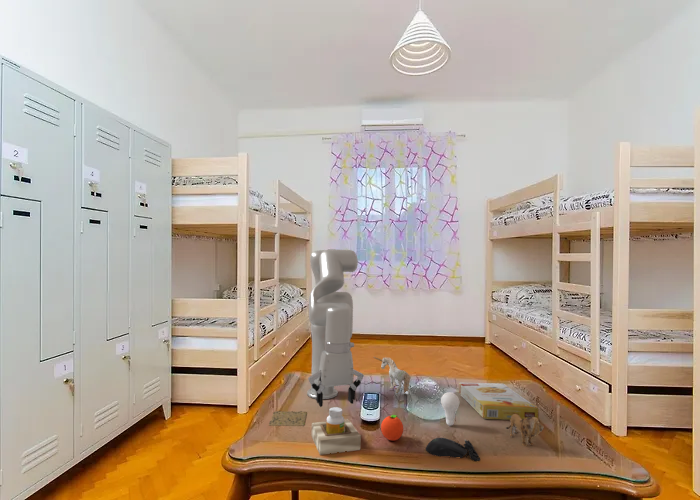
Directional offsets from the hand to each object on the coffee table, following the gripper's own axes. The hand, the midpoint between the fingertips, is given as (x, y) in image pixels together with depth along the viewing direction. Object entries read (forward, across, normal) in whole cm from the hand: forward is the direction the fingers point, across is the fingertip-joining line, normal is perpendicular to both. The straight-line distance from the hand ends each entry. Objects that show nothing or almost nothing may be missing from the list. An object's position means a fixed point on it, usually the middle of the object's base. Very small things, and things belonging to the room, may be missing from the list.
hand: (335, 403), depth 112 cm
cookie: (+13, +11, -20) cm, 26 cm away
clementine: (+12, -18, +3) cm, 21 cm away
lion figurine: (+11, -57, +15) cm, 60 cm away
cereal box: (+13, -69, -13) cm, 71 cm away
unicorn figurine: (+13, -35, -37) cm, 52 cm away
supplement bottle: (+12, 0, +1) cm, 12 cm away
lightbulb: (+12, -41, -1) cm, 42 cm away
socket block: (+11, 0, +1) cm, 11 cm away
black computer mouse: (+12, -31, +15) cm, 36 cm away
